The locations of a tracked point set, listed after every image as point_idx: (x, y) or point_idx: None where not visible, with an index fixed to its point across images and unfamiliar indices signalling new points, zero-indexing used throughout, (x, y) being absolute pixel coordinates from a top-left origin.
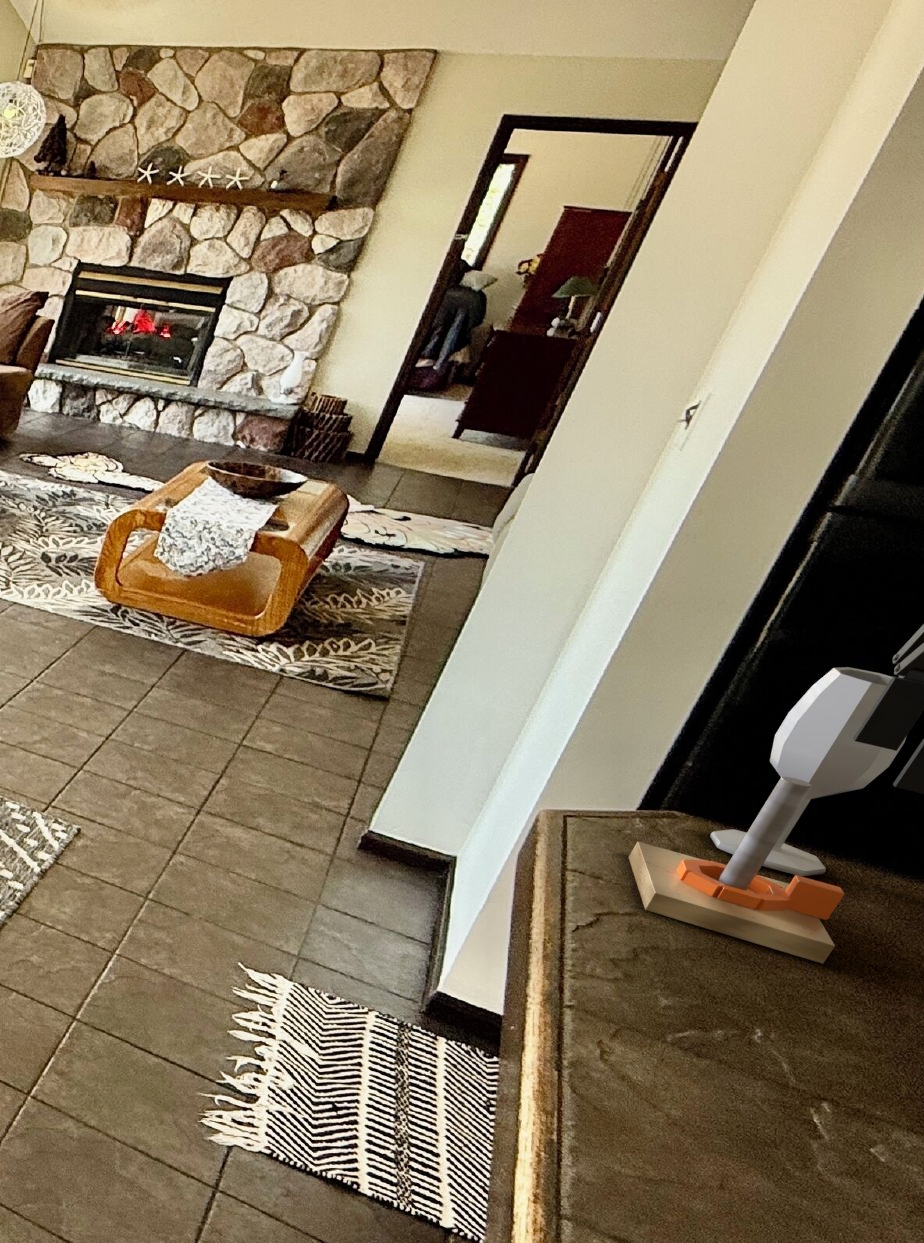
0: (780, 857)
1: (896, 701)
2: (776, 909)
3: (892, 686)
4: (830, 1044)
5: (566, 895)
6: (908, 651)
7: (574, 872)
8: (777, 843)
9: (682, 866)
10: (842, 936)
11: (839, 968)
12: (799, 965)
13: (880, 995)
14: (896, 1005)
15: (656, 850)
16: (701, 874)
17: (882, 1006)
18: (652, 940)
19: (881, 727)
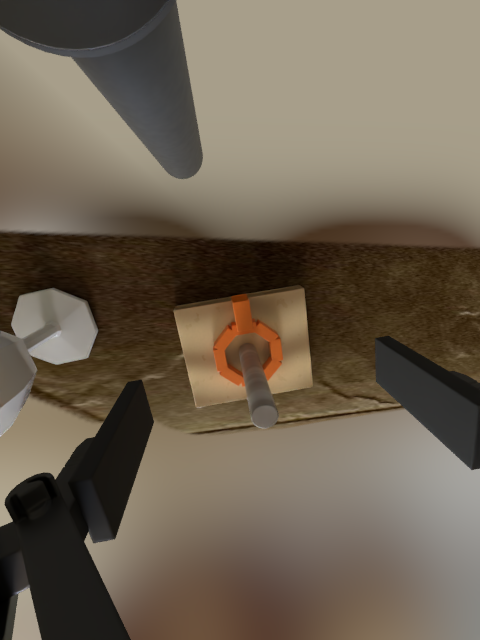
0: (72, 320)
1: (125, 472)
2: (265, 324)
3: (121, 515)
4: (448, 280)
5: (329, 414)
6: (10, 632)
7: None
8: (53, 329)
9: None
10: (214, 273)
11: (295, 275)
12: (317, 297)
13: (325, 253)
14: (336, 244)
15: (205, 396)
16: (265, 374)
17: (347, 252)
18: (363, 369)
19: (141, 427)
